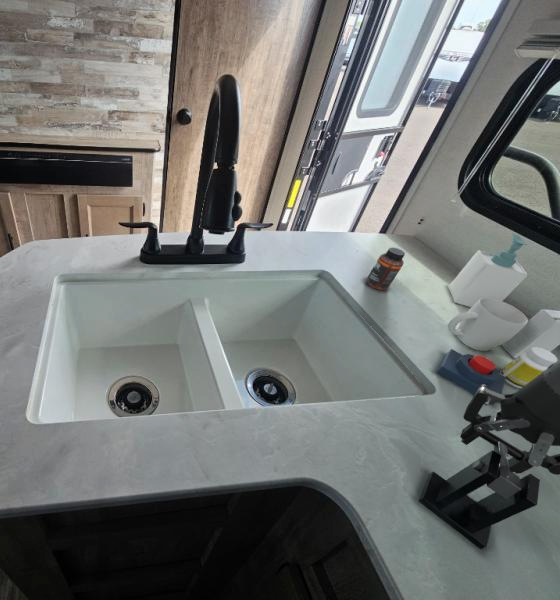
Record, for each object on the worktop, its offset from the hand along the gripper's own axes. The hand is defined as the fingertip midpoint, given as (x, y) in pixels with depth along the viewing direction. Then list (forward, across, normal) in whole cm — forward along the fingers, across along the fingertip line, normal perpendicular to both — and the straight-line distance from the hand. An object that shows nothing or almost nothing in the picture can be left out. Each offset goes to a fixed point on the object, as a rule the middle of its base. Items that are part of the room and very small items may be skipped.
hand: (485, 453), depth 52 cm
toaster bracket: (+5, 0, -10) cm, 11 cm away
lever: (-3, 0, -5) cm, 6 cm away
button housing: (+5, -4, +23) cm, 24 cm away
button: (+1, -4, +23) cm, 24 cm away
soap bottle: (+5, -10, +59) cm, 60 cm away
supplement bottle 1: (+5, -30, +43) cm, 53 cm away
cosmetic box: (+5, +3, +43) cm, 44 cm away
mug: (+5, -7, +37) cm, 38 cm away
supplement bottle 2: (+5, +3, +31) cm, 32 cm away
